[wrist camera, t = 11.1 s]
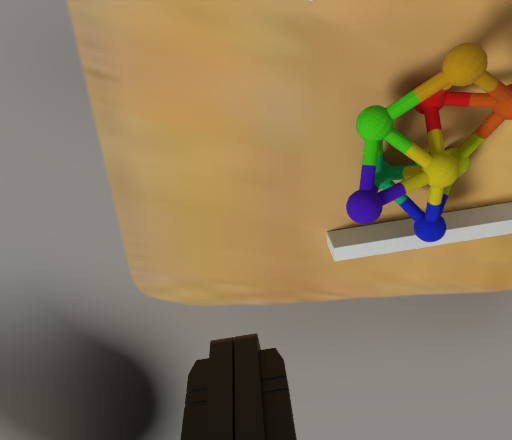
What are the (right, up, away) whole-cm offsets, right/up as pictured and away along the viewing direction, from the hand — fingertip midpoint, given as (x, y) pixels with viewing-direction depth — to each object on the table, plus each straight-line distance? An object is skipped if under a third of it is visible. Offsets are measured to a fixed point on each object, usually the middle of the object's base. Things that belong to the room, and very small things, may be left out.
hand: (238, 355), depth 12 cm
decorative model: (+14, +12, +21) cm, 28 cm away
